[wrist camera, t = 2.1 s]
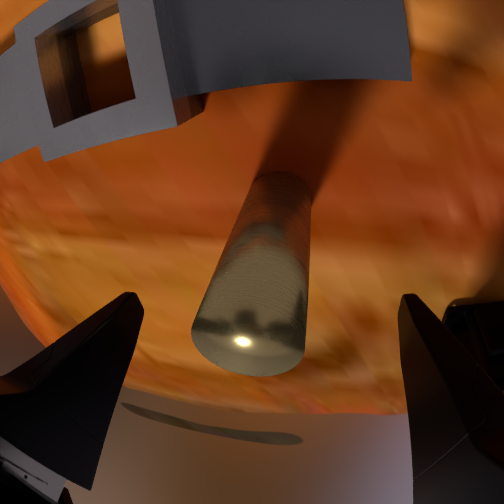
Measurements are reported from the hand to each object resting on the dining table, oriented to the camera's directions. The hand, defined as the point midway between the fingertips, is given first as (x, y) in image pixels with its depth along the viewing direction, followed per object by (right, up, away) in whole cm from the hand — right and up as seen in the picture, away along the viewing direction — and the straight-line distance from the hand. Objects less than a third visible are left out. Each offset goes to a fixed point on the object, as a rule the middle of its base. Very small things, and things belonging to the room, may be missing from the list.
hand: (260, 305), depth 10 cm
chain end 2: (-3, +12, +1) cm, 12 cm away
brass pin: (+1, +4, +6) cm, 7 cm away
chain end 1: (-11, +11, +3) cm, 16 cm away
